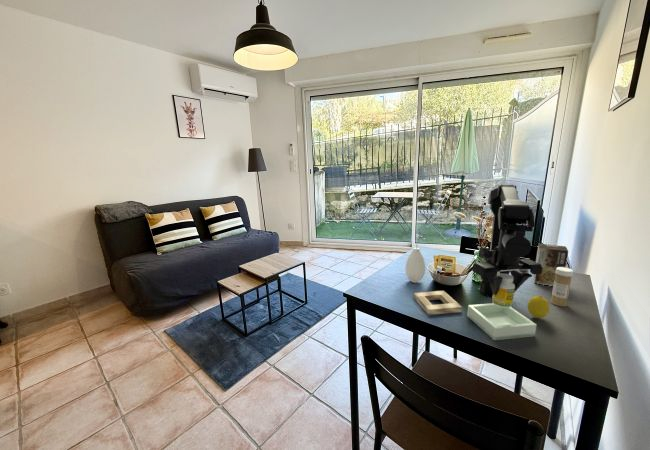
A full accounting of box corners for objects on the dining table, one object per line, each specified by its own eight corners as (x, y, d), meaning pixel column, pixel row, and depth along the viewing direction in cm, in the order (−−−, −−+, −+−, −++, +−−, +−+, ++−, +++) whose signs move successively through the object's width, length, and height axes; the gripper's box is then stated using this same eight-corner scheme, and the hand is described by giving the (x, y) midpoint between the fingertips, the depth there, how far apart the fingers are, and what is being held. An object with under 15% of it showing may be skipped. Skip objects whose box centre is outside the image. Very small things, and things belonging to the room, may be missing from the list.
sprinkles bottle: (568, 304, 99) (575, 269, 96) (563, 308, 97) (570, 272, 93) (553, 299, 103) (559, 265, 99) (547, 302, 100) (554, 268, 97)
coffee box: (559, 282, 115) (566, 246, 111) (561, 289, 110) (569, 250, 106) (532, 278, 120) (538, 242, 116) (533, 284, 115) (539, 247, 111)
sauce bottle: (413, 276, 125) (416, 238, 120) (428, 283, 118) (430, 243, 114) (401, 280, 121) (403, 241, 117) (415, 287, 114) (417, 246, 110)
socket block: (443, 295, 108) (443, 290, 107) (461, 311, 96) (461, 306, 95) (413, 297, 106) (414, 292, 106) (428, 314, 95) (428, 309, 94)
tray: (502, 312, 95) (504, 302, 94) (534, 336, 82) (536, 324, 81) (467, 315, 94) (468, 305, 93) (493, 340, 81) (495, 328, 80)
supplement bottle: (496, 298, 90) (500, 270, 87) (515, 305, 85) (519, 276, 83) (488, 303, 87) (492, 275, 85) (506, 310, 83) (511, 281, 80)
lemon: (548, 324, 88) (552, 302, 86) (526, 319, 91) (530, 297, 89) (545, 316, 92) (550, 294, 90) (525, 311, 95) (529, 290, 93)
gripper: (517, 236, 90) (511, 280, 94) (463, 239, 88) (459, 284, 92) (548, 247, 79) (539, 296, 83) (487, 251, 78) (481, 301, 81)
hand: (503, 293), depth 85 cm, fingers closed on supplement bottle, 5 cm apart
